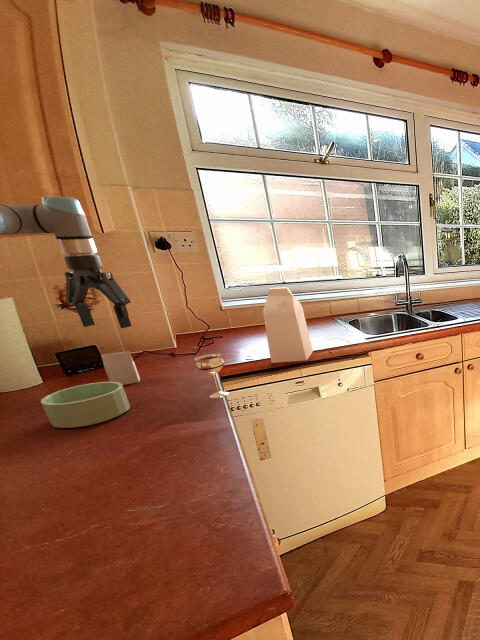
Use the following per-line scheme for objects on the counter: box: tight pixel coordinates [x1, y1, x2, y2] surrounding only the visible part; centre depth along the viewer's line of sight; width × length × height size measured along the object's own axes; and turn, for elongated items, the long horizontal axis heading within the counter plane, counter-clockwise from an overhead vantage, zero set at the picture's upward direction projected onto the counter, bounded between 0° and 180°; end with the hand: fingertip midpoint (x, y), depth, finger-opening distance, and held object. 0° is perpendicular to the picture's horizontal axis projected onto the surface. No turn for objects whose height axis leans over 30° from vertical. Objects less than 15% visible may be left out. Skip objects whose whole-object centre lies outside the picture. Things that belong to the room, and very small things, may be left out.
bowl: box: [40, 381, 131, 429], centre depth 113 cm, size 16×16×7 cm
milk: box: [262, 287, 314, 364], centre depth 156 cm, size 12×12×26 cm
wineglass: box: [193, 352, 229, 399], centre depth 125 cm, size 7×7×12 cm
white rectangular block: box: [100, 350, 141, 386], centre depth 135 cm, size 4×7×10 cm, turn 126°
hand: (107, 326), depth 130 cm, fingers open, 13 cm apart
